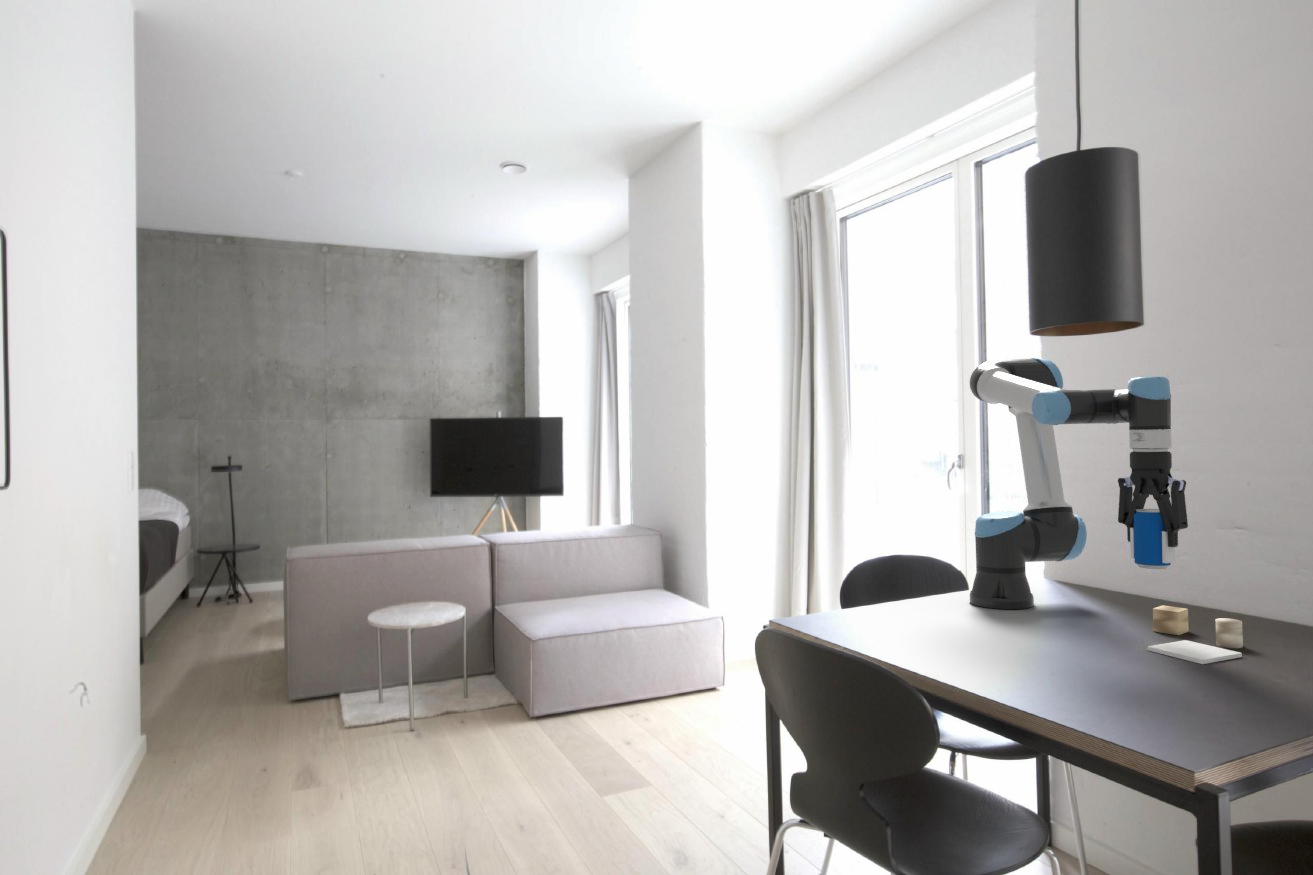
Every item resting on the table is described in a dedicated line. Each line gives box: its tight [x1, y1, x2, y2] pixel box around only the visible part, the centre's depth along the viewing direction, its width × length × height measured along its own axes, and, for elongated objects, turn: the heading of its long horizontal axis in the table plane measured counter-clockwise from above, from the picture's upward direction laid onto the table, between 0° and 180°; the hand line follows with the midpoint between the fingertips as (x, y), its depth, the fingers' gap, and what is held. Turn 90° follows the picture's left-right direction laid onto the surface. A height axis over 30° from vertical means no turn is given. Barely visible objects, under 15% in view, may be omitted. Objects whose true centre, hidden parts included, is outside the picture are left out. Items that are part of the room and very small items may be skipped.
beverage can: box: [1134, 508, 1171, 570], centre depth 169 cm, size 6×6×12 cm
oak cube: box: [1152, 604, 1190, 636], centre depth 175 cm, size 5×5×5 cm
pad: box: [1147, 639, 1243, 665], centre depth 157 cm, size 11×11×1 cm
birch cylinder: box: [1214, 617, 1244, 649], centre depth 162 cm, size 4×4×5 cm
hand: (1152, 559), depth 169 cm, fingers closed on beverage can, 6 cm apart
